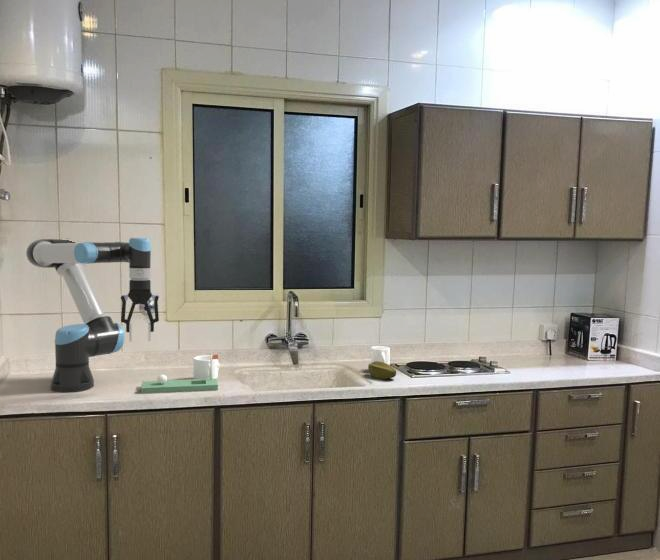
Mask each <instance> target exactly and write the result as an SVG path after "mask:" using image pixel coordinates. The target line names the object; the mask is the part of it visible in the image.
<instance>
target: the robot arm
mask: <svg viewBox="0 0 660 560" xmlns="http://www.w3.org/2000/svg"><path fill="white" fill-rule="evenodd" d="M151 251H152V247H151V240H150V239H149V238H148V237H130V238H129V239H128V242H124V241H114V242H113V241H112V242H106V241H105V242H93V241H92V242H87V241H83V242H81V243H75V242H72V241H69V240H62V239H61V238H60V239H58V238H57V239H56V238H51V239H50V238H49V239H48V238H45V239H44V238H40V239H37V240H34V241H32V242H31V243H30V244H29V245H28V246H27V248H26V252H25V253H26V257H27V260H28V261H29V263H31V265H34V266H35V267H38V268H42V269H43V268H45V269H47V268H48V269H49V268H54V269H55V272H56V274H57V276H60V277H63V279H64V282H65V283H66V286H67V288H68V290H69V293H70V295H71V297H72V300H73V301H74V304H75V306H76V308H77V311H78V314H79V316H80V317H81V320H82V323H76V324H69V325H64V326H62V327H60V328H57V330H56V331H55V334H54V349H55V350H54V352H55V353H54V354H55V370H54V372H53V375H52V379H51V381H50V390H52V392H53V391H54V392H60V393H73V392H81V391H86V390H89V389H92V388H94V386H95V379H94V376H93V374H92V371H91V369H90V364H89V363H90V358H91V357H98V356H103V355H104V356H105V355H112V354H114V353H117V352H119V351H120V350H121V349H122V348H123V346H124V344H125V338H126V335H125V331H126V333H129V334H128V336H129V340H128V341H129V342H130V343H131V342H132V341H133V323H132V322H131V319H132V316H133V313H134V312H135V311H134V310H135V308H136V305H144V308H145V311H146V313H147V317H148V319H149V322H148V327H147V328H148V329H147V330H148V332H147V334H148V342H151V339H152V335H151V334H152V333H153V332H155V323H158V322H159V320H160V318H159V316H160V315H159V303H158V301H159V298H160V296H159V295H158V294H157V295H156V294H154V293H152V292H151V290H152V289H151V283H152V282H151V276H152V275H151V261H152V260H151V253H152V252H151ZM102 263H103V264H105V263H106V264H107V263H109V264H110V263H112V264H113V263H129V264H128V265H129V266H128V268H129V271H128V273H129V274H128V276H129V282H128V283H129V287H128V289H129V291H128V293H127V294H125V295H121V296H120V300H121V317H120V322H121V323H124V324H125V330H124V327H123V325H121V324H120V323H119V322H114V321H113V319H112V317H111V316H109V315H107V314H106V313H105V311H104V309H103V307H102V305H101V302H100V300H99V298H98V296H97V294H96V291H95V290H94V287H93V286H92V283H91V281H90V279H89V277H88V275H87V273H86V270H85V267H86V265H87V264H89V265H90V264H102ZM128 299H130V301H131V302H132V303H131V307H130V309H129V313H128V315H127V318H126V312H127V311H126V307H127V301H128ZM150 299H152V301H153V304H154V305H153V306H154V316H153V314H152V311H151V308H150V305H149V300H150Z"/></svg>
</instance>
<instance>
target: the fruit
mask: <svg viewBox="0 0 660 560" xmlns="http://www.w3.org/2000/svg"><path fill="white" fill-rule="evenodd" d="M367 365H368V368H367V369H368V373H369V374H370V375H371V376H372V377H373V378H375V379H377V378H380V379H379V380H387V379H392V378H393V379H394V378H395V377H396V376H397V370H396V369H394V367H393V366H391V365H388V364H386V363H384V362H378V361H375V362H373V363H371V362H370V363H368V364H367Z"/></svg>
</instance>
